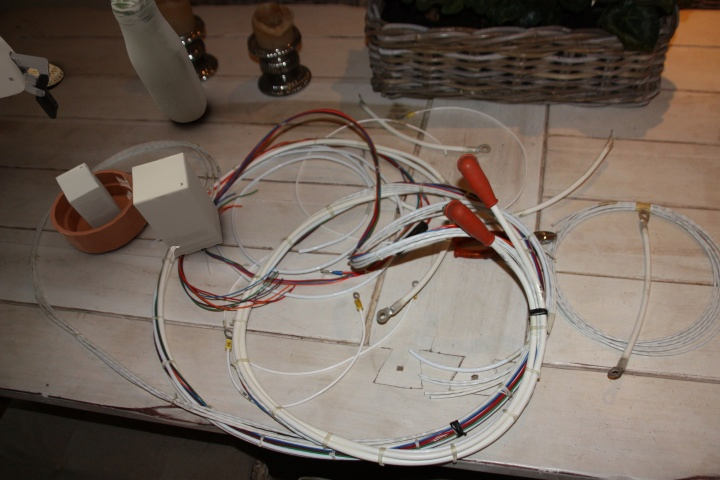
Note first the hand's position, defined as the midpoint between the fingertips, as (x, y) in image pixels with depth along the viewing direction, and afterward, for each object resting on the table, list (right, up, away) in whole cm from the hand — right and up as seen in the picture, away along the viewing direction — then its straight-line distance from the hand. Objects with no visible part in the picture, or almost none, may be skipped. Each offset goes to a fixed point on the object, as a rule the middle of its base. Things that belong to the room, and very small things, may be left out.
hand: (23, 121), depth 83 cm
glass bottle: (+12, +10, +35) cm, 39 cm away
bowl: (+3, -14, +20) cm, 24 cm away
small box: (+3, -14, +19) cm, 24 cm away
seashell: (-28, +23, +48) cm, 60 cm away
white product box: (+21, -16, +16) cm, 31 cm away
